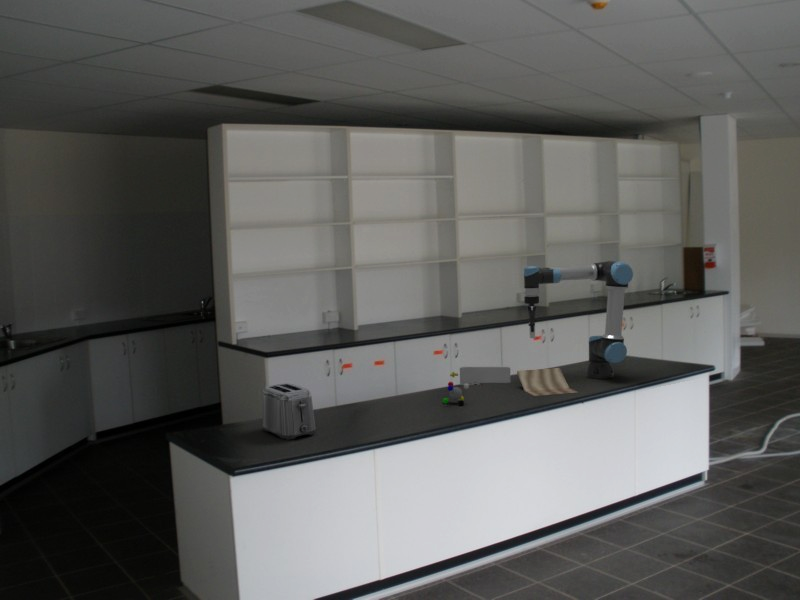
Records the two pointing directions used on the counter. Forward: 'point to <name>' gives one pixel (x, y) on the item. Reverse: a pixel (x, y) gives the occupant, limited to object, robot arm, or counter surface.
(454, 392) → the molecular model
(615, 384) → the counter surface
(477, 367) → the decorative sign
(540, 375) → the plank
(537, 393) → the floor strip
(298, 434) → the toaster
